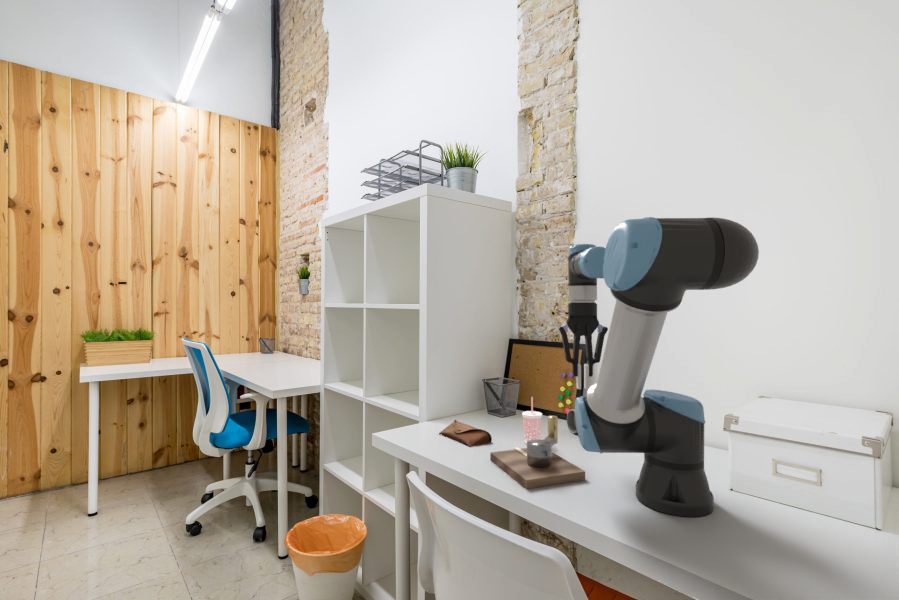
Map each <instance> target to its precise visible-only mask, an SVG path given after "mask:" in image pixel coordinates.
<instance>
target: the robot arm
mask: <svg viewBox="0 0 899 600" xmlns="http://www.w3.org/2000/svg"><path fill="white" fill-rule="evenodd" d="M759 253H760V252H759V245H758V242H757V240H756V238H755V236H754V235H753V233H752V232H751V231H750V230H749V229H748V228H747V227H745V226H743V225H742V224H741V223H738V222H737V221H734V220H732V219H731V220H730V219H727V218H722V217H673V218H672V217H670V218H669V217H665V218H664V217H663V218H662V217H660V218H658V217H657V218H656V217H654V216H653V217H652V216H647V217H643V218H633V219H632V218H630V219H625V220H623V221H622V222H620V223H619V224H618V225H616V227H614V229H613V231H612V232H611V233H610V236H609V237H608V240H607V243H606V246H605V247H603V246H596V244H593V243H590V244H589V243H578V244H573V245H570V246H569V247H568V254H567V255H568V256H567V262H568V266H567V267H568V268H567V270H568V275H567V277H568V283H567V284H568V288H567V289H568V296H567V297H568V301H570V302H569V303H568V306H567V310H568V311H567V312H568V313H567V317H568V319H566V323H565V324H563V325H561V326H560V325H559V326H558V327H557V330H558V331H559V334H560V336H561V343H562V348H563V352H564V357H565V362H567V363H570V364H571V365H572V376H573V377H576V378H575V379H576V382H575V383H576V389H577V390H582V365H581V364H580V363H579V357H580V344H581V343H580V342H581V337H582V336H583V337H584V341H585V354H586V355H585V357H586V363H584V364H583V386H584V387H583V388H584V389H585V390H587V392H586V396H583V395H581V396H578V397H576V398H575V400H574V409H575V418H576V426H577V431H578V433H577V436H578V439H579V444H580V446H581V447H582V449H584V450H585V451H586V452H591V453H599V454H603V453H604V454H605V453H609V454H610V453H613V454H614V453H615V454H617V453H618V454H619V453H620V454H643V455H644V456H643V458H644V459H643V462H642V463H643V464H642V466H641V469H640V473H639V477H638V479H637V481H636V483H635V497H636V498H637V500H638V501H639V502H640V503H642V505H644V506H646V507H648V508H650V509H653V510H655V511H658V512H660V513H662V514H663V513H664V514H666V515H667V514H668V515H673V516H678V517H688V518H689V517H690V518H694V517H695V518H696V517H703V516H708V515H710V514H711V513H713V511H714V508H715V501H714V500H715V499H714V494H713V493H712V491H711V490H710V485H709V481H708V477H707V475H706V471H705V424H706V420H705V419H706V418H705V411H704V405H703V404H702V402H701V401H700V400H698V399H696V398H694V397H692V396H689V395H686V394H682V393H677V392H673V391H669V390H668V391H667V390H661V389H645V391H644V392H643V390H644V387H645V384H646V381H647V377H648V374H649V371H650V368H651V365H652V361H653V359H654V355H655V353H656V349H657V345H658V343H659V340H660V338H661V334H662V331H663V327H664V324H665V321H666V318H667V315H668V313H669V312H671V311H674V310H676V309H678V307H679V306H680V305H681V303H682V301H683V299H684V295H685V292H686V291H690V290H691V291H695V290H696V291H703V290H705V291H706V290H709V291H710V290H718V289H723V288H728V287H732V286H734V285H736V284H738V283H740V282H742V281H744V280H745V279H746V278H747V277H748V276H749V275H750V274H751V273H752V272H753V271H754V269H755V267H756V266H757V264H758V263H757V262H758V260H759ZM598 279H603V280H604V283H605V284H606V287H607V288H609V289H610V293H611V296H612V297H613V298H614V299H615V300H616V301H615V305H614V308H613V313H612V317H611V322H610V325H609V328H608V327H607V326H604V325H602V324H600V321H599V319H598V304H597V302H596V301H597V300H598ZM568 329H569V330H568ZM596 330H597V339H596V343H595V349H594V355H593V336H592V335H593V334H594V333H595V331H596ZM568 331H571V333H572V334H573V345H572V354H571V349H570V344H569V339H568V334H567V333H568ZM607 332H608V335H607V339H606V344H605V348H604V352H603V353H602V351H603V345H604V342H605V341H604V340H605V336H606V334H607ZM602 354H603V356H602ZM601 356H602V357H601ZM601 358H602V361H601ZM600 361H601V363H600ZM599 363H600V369H599V374H598V377H597V382H594V383H593V384H592V385H590V377H593V375H594V365H595V364H599ZM642 392H643V394H642ZM642 396H643V397H642Z"/></svg>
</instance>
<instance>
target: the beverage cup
mask: <svg viewBox="0 0 899 600" xmlns="http://www.w3.org/2000/svg"><path fill="white" fill-rule="evenodd" d="M530 399H531V400H530V401H531V402H530V403H531V407H530V409H531V410H526V411H522V413H521V415H522V421H523V423H522V424H523V440H524V444H525V443H526V445H527V442H528V441H529V440H535V439H539V440H541V430H542V427H541V426H542V418H543V413H542V412H541V411H536V410H534V397H533V396H531V397H530Z"/></svg>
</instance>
